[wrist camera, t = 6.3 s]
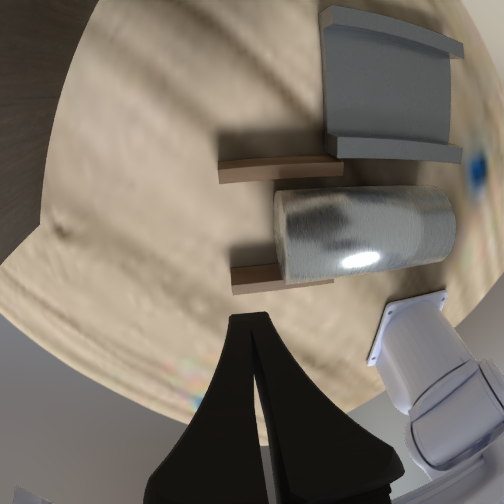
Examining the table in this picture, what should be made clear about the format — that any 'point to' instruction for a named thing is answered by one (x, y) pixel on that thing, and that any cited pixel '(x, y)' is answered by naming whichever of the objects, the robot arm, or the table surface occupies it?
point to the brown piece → (268, 169)
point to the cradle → (386, 87)
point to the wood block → (31, 102)
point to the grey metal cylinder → (360, 230)
